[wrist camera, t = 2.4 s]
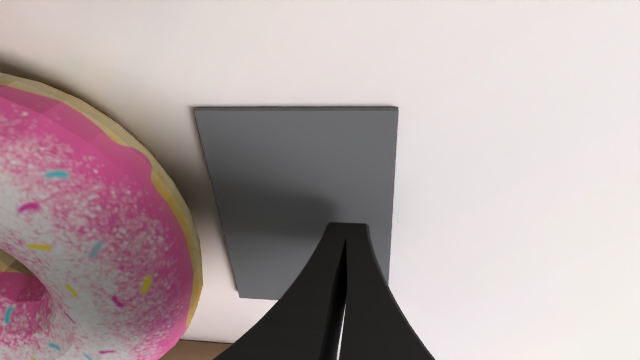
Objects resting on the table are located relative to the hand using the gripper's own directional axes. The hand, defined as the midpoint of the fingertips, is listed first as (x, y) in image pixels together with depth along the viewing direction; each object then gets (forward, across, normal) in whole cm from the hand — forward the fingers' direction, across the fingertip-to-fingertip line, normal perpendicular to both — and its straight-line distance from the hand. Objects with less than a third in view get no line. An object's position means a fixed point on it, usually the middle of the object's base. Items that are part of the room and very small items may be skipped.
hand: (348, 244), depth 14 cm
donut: (+2, +12, 0) cm, 12 cm away
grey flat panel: (+1, +2, 0) cm, 2 cm away
